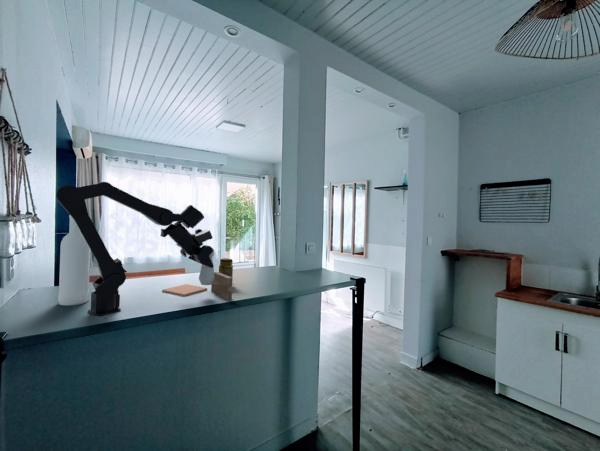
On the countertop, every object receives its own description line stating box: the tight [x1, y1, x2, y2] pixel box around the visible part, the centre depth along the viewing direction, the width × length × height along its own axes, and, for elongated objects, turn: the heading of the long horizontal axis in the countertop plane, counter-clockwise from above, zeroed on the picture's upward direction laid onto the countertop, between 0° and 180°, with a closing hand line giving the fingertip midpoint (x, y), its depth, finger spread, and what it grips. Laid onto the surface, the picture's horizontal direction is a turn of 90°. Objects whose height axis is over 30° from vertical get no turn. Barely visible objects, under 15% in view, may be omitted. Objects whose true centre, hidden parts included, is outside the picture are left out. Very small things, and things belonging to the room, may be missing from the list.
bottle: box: [57, 214, 91, 307], centre depth 94 cm, size 8×8×30 cm
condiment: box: [218, 257, 234, 289], centre depth 126 cm, size 7×8×12 cm
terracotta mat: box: [161, 283, 208, 297], centre depth 115 cm, size 12×12×1 cm
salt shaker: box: [198, 250, 215, 286], centre depth 107 cm, size 6×6×13 cm
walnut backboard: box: [210, 271, 234, 300], centre depth 111 cm, size 2×14×8 cm, turn 41°
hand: (210, 266), depth 108 cm, fingers closed on salt shaker, 3 cm apart
